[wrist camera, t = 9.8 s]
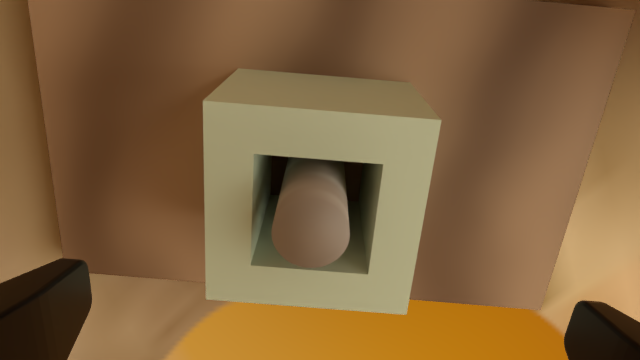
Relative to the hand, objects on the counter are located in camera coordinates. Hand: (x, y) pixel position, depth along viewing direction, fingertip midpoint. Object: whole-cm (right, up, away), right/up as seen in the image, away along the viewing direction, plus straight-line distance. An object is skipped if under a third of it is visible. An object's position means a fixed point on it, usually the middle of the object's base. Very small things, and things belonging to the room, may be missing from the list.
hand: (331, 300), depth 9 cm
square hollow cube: (0, +3, +9) cm, 9 cm away
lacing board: (0, +4, +10) cm, 11 cm away
